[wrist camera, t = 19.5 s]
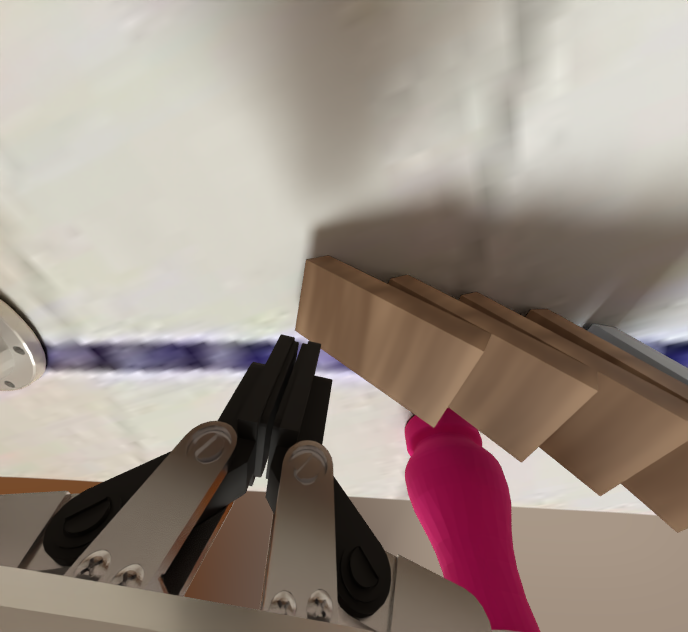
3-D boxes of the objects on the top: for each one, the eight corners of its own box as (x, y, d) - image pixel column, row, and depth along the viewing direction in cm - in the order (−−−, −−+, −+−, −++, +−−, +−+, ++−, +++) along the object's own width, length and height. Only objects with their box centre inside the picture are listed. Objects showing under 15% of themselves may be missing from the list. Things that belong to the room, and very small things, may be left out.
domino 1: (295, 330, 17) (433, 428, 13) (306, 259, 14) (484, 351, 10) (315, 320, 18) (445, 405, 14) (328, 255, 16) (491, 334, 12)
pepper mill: (391, 447, 25) (446, 1052, 8) (410, 396, 22) (591, 1316, 4) (463, 458, 25) (675, 1086, 8) (494, 409, 22) (1013, 1379, 4)
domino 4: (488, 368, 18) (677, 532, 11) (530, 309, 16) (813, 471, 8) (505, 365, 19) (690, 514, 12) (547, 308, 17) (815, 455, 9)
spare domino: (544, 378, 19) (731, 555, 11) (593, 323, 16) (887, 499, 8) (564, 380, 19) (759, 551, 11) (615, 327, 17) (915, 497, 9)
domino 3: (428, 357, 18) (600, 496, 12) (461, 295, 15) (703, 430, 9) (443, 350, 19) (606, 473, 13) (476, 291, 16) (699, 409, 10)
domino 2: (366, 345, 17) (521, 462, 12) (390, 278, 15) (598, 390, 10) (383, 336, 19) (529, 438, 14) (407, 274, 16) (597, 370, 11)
